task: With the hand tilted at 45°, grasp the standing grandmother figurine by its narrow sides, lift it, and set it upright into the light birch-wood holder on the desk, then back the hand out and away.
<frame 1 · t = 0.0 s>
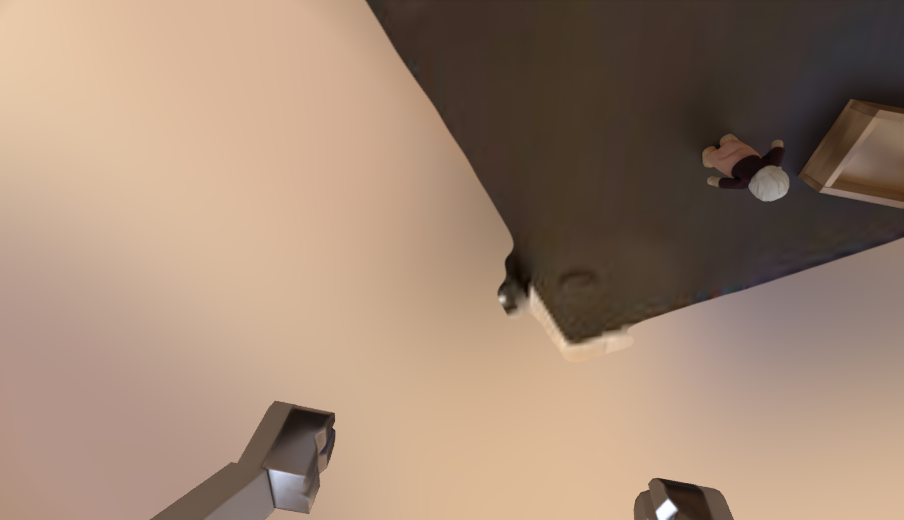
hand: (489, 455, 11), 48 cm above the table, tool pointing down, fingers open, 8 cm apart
grandmother figurine: (723, 147, 52), on the table
holder: (878, 150, 50), on the table
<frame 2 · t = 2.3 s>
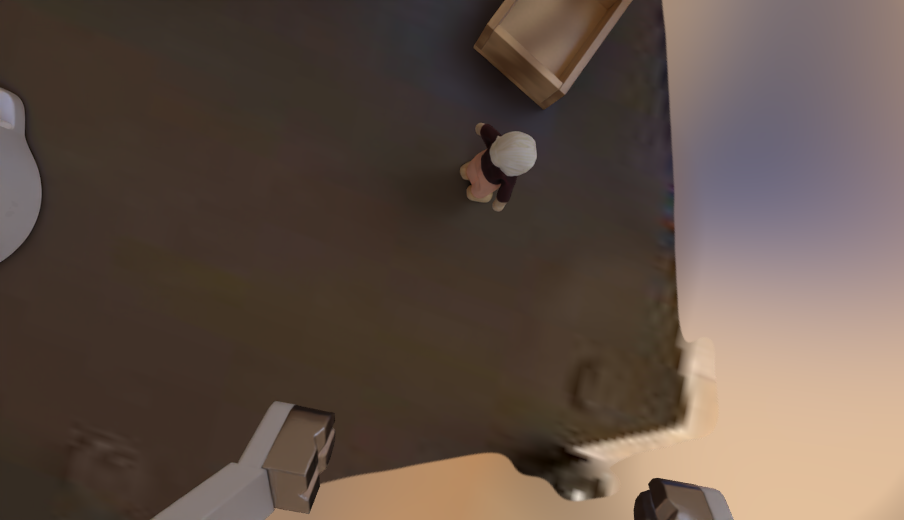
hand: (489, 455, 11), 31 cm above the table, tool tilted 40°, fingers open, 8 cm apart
grandmother figurine: (474, 176, 43), on the table
holder: (545, 29, 43), on the table
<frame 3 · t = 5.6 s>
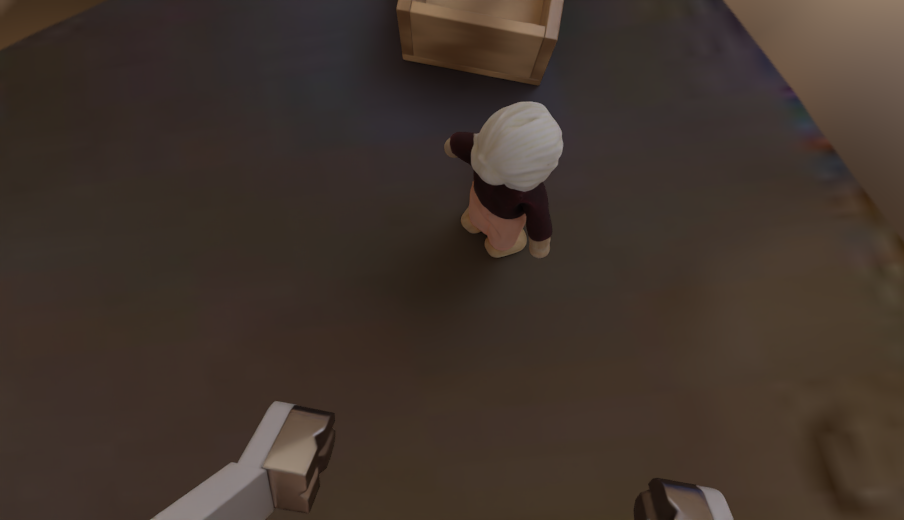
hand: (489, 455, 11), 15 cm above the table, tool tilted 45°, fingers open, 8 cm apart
grandmother figurine: (487, 222, 27), on the table
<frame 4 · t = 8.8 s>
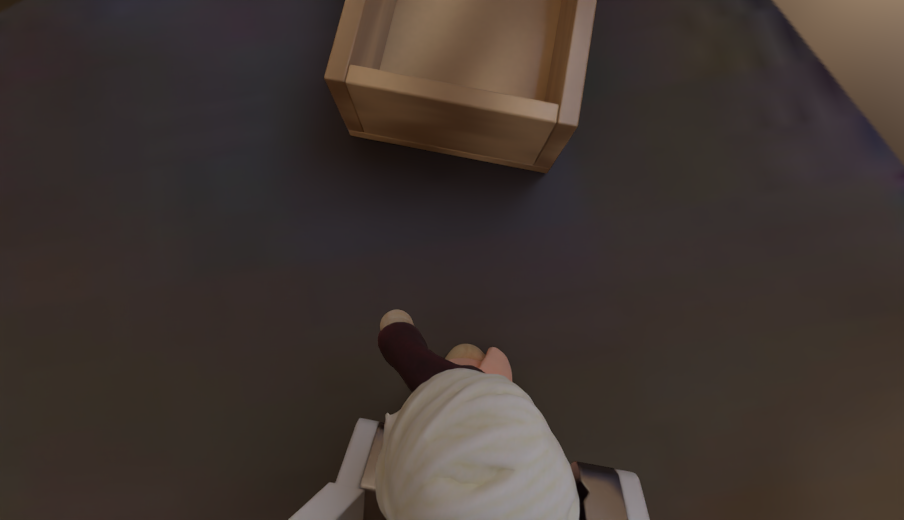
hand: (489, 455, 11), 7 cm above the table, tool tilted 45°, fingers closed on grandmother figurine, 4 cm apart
grandmother figurine: (471, 384, 18), on the table, touching gripper
holder: (474, 31, 21), on the table
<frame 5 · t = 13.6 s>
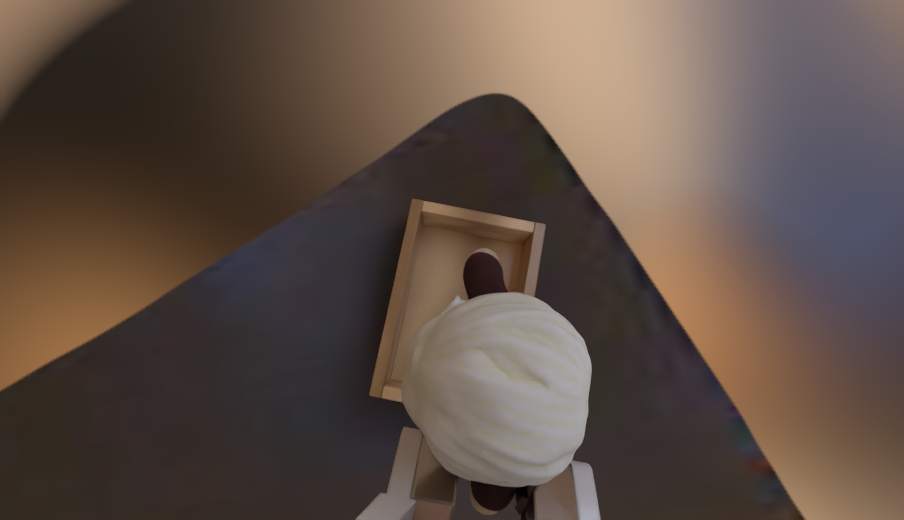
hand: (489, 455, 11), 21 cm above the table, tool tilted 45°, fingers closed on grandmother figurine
grandmother figurine: (491, 366, 18), point 14 cm above the table, touching gripper
holder: (458, 310, 33), on the table
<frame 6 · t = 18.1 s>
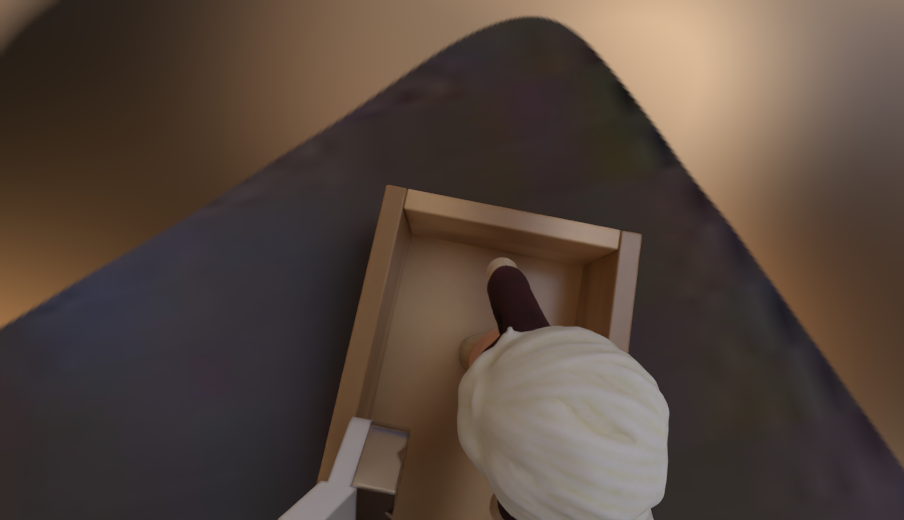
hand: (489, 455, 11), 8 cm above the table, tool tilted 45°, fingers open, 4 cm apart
grandmother figurine: (492, 367, 18), resting on holder
holder: (471, 382, 19), on the table
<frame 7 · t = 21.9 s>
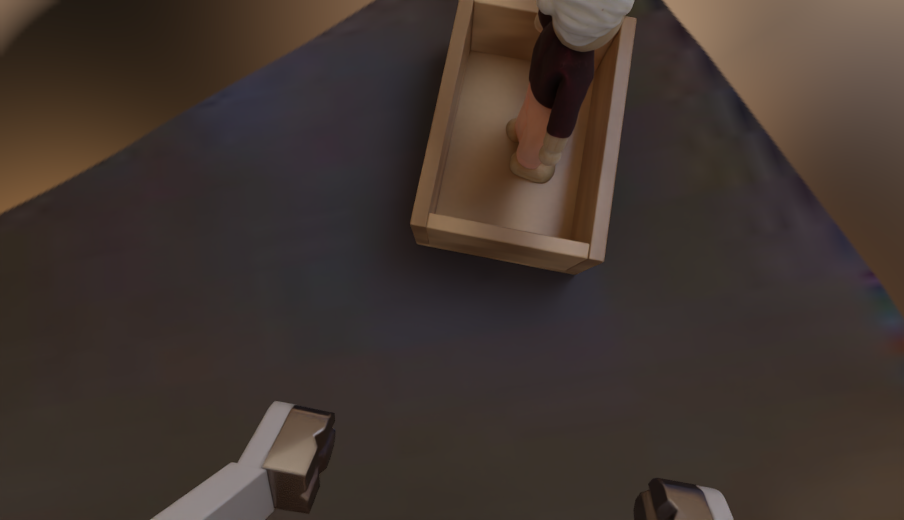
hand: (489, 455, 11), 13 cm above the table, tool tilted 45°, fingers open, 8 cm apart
grandmother figurine: (529, 141, 26), resting on holder
holder: (514, 153, 26), on the table
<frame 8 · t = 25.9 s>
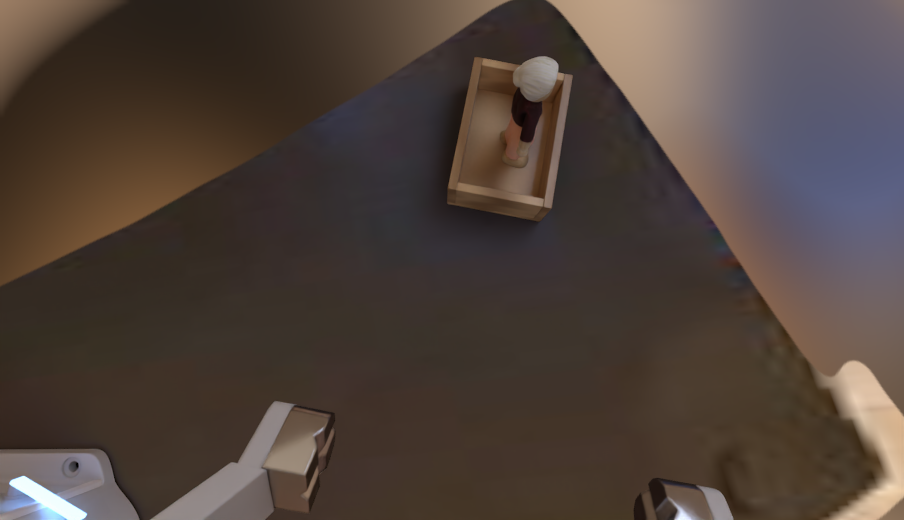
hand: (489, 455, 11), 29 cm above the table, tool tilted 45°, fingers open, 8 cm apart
grandmother figurine: (513, 143, 43), resting on holder
holder: (504, 151, 43), on the table
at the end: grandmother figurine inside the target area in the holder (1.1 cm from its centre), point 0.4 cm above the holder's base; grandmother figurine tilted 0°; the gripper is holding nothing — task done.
